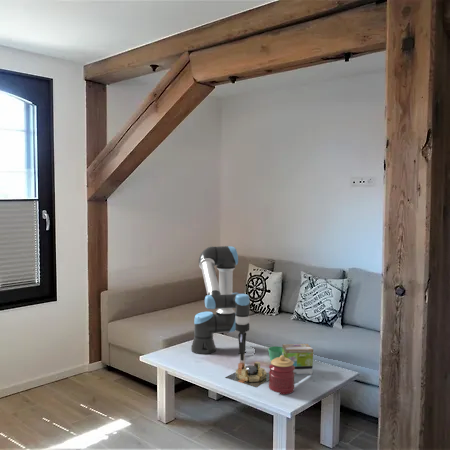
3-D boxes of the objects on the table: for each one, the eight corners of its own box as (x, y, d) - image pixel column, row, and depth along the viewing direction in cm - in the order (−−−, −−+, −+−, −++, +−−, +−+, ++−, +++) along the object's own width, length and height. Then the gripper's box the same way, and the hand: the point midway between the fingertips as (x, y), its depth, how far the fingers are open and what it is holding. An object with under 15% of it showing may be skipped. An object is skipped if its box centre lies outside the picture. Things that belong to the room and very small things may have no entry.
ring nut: (230, 377, 258) (230, 367, 257) (246, 368, 270) (246, 358, 270) (255, 384, 249) (256, 374, 248) (271, 374, 261) (271, 365, 261)
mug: (278, 370, 271) (278, 353, 270) (264, 366, 277) (264, 349, 277) (293, 364, 281) (294, 347, 280) (280, 359, 288) (280, 343, 287)
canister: (296, 394, 240) (297, 360, 239) (271, 395, 239) (271, 360, 238) (291, 383, 253) (292, 350, 252) (266, 384, 252) (267, 351, 251)
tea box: (286, 376, 263) (286, 349, 262) (281, 369, 273) (281, 343, 271) (312, 375, 265) (313, 348, 264) (306, 368, 275) (307, 342, 274)
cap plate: (224, 379, 258) (224, 368, 257) (246, 368, 274) (246, 357, 273) (256, 389, 246) (256, 377, 245) (276, 377, 262) (277, 366, 261)
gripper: (247, 326, 255) (247, 370, 257) (250, 319, 268) (250, 361, 270) (233, 326, 257) (233, 369, 259) (237, 319, 269) (237, 360, 271)
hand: (242, 365), depth 264 cm, fingers closed
